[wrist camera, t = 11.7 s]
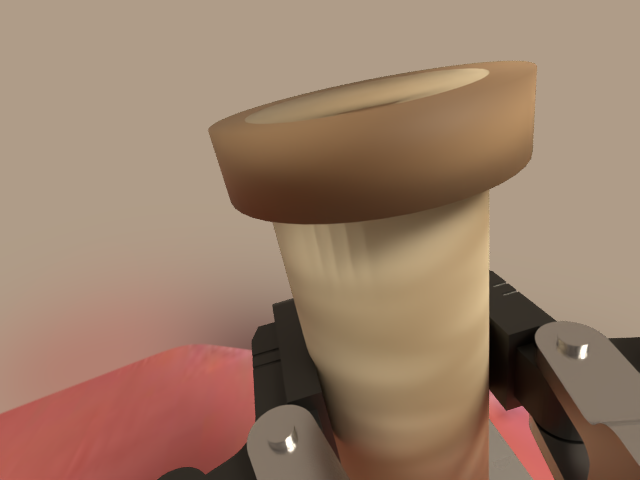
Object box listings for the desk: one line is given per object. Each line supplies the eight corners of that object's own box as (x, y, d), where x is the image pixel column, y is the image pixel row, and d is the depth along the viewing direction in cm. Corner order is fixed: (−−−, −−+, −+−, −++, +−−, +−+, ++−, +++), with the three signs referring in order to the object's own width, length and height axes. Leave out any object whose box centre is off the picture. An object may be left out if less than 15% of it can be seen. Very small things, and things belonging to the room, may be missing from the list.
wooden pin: (373, 682, 10) (190, 162, 4) (329, 486, 14) (216, 113, 8) (552, 611, 10) (642, 53, 4) (454, 444, 15) (432, 64, 9)
